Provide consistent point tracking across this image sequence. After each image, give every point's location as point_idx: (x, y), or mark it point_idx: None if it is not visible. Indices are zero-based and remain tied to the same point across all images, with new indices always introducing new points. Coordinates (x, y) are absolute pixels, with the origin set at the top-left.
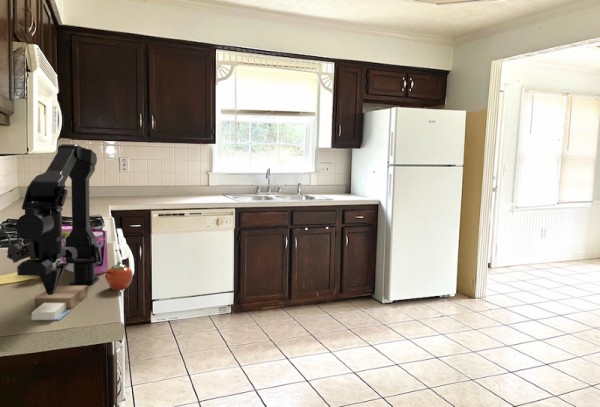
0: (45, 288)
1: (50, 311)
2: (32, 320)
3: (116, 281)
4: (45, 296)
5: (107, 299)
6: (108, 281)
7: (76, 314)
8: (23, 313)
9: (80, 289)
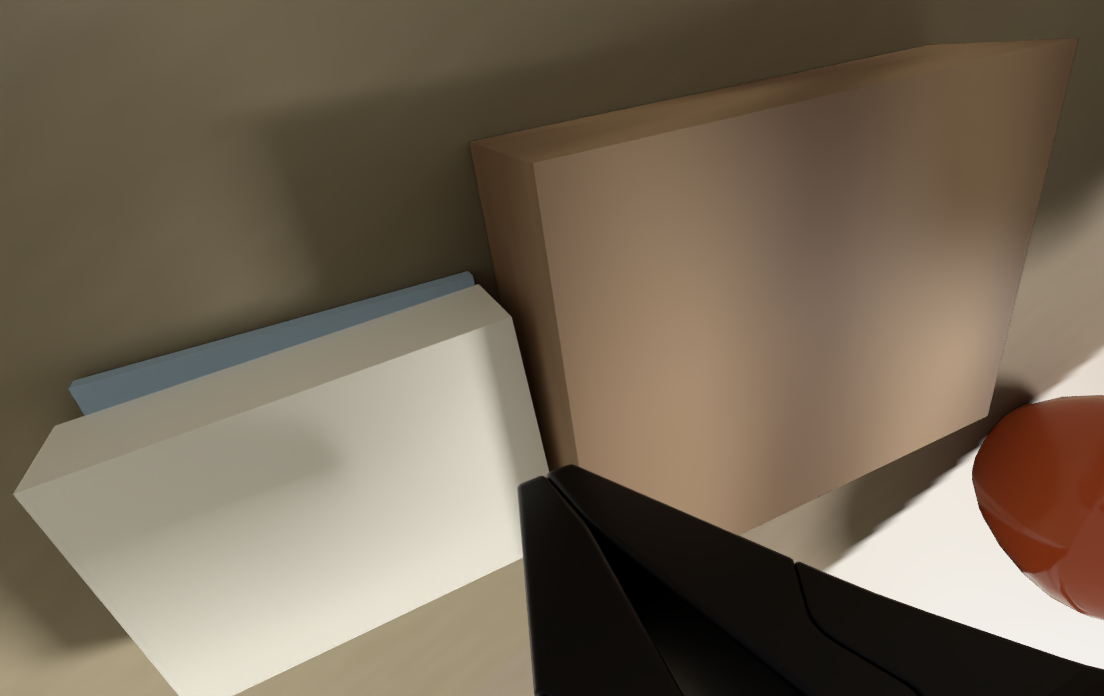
0: (526, 575)
1: (193, 662)
2: (88, 403)
3: (1027, 548)
4: (641, 266)
5: (800, 552)
6: (1055, 476)
7: (445, 631)
8: (304, 55)
9: (880, 454)
